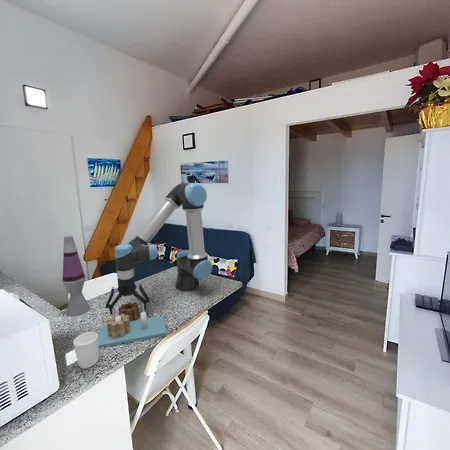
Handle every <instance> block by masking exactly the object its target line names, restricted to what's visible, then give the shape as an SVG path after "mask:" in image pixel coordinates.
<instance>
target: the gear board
mask: <svg viewBox="0 0 450 450" xmlns="http://www.w3.org/2000/svg"><path fill="white" fill-rule="evenodd" d="M139 315H140V319H137V320H136V321H134V320H133V321H130V332H129V333H126V334H125V336H123V337H120V336H119V337H117V338H112V336H110V337H109V336H108V331H107V325H102V326H100V327H99V331H98V333H97V334H98V345H99V348H100V349H103V348H102V347H105V348H108V347H107V346H110V347H113V346H112V345H115V346H118V345H117V344H120V345H122V344H121V343H125V344H128V343H127V342H131V343H135V341H136V342H139V341H145V340H151V339H155V338H160V337H166V336H167V330H166V323H165V317H164V315H159V316H154V317H148V318H147V312H146V311H144V312H143V311H142V312H139ZM119 321H121V316H118V315H117V316H116V317H115V322H119Z"/></svg>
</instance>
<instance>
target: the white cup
mask: <svg viewBox="0 0 450 450" xmlns="http://www.w3.org/2000/svg"><path fill="white" fill-rule="evenodd" d="M98 334H99V333H98V332H94V331H87V332H84V333H81V334H80V335H78V336H77V337H75V338H74V340H73V347H74V352H75V355H76V356H75V357H76V360H77V364H78V367H79V368H80V369H84V370H85V369H89V367H90V368H91V366H92V367H93V365H94V364H95V363H96V362H97V361H98V362H99V360H98V359H100V355H99V351H100V349H99V345H98ZM98 362H97V363H98ZM97 363H96V364H97ZM96 364H95V365H96ZM95 365H94V366H95Z"/></svg>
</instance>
